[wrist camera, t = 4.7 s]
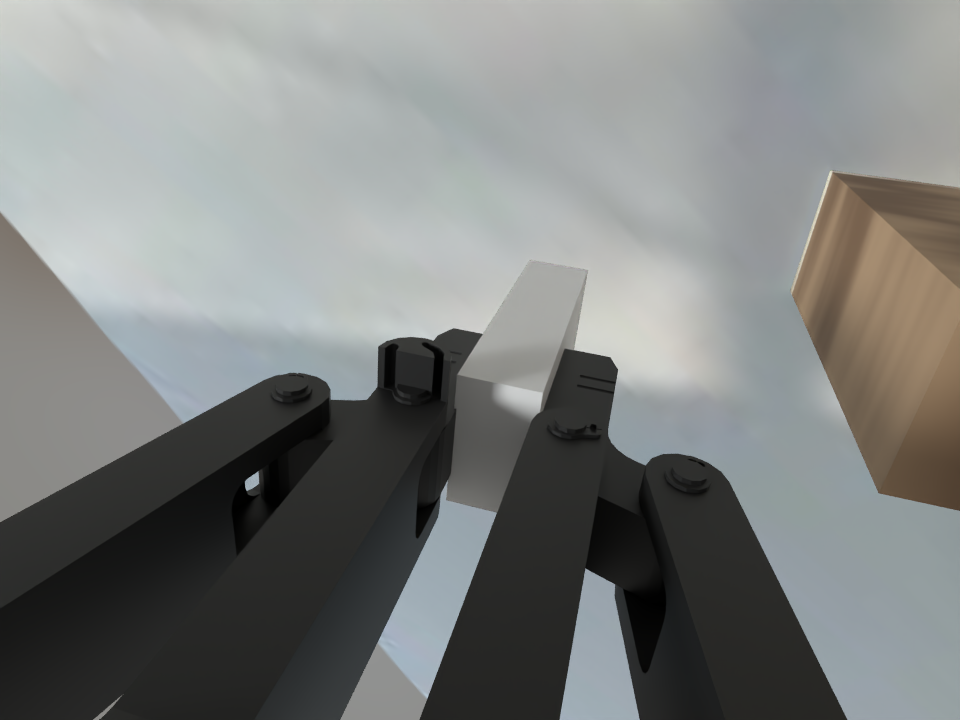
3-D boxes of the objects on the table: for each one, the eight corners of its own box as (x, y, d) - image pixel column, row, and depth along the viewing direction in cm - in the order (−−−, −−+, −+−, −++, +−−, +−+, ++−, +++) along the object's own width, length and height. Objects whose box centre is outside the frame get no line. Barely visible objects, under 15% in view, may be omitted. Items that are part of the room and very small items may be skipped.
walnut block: (790, 291, 28) (878, 492, 16) (830, 170, 26) (969, 298, 13) (919, 312, 27) (1118, 545, 15) (973, 189, 25) (1261, 346, 13)
